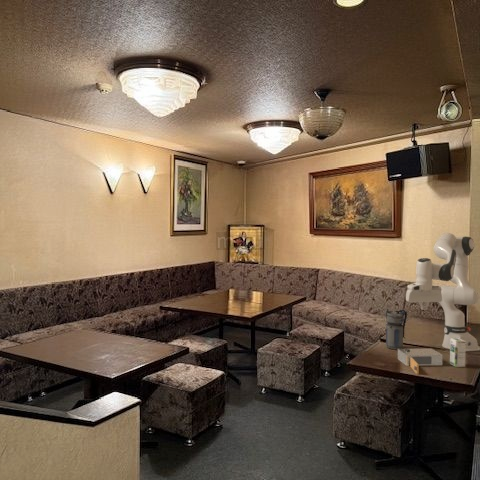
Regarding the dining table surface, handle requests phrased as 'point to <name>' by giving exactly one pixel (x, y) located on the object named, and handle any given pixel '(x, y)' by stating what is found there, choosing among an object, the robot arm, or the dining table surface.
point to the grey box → (420, 357)
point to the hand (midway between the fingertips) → (423, 309)
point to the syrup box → (457, 352)
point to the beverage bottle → (395, 329)
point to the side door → (414, 365)
